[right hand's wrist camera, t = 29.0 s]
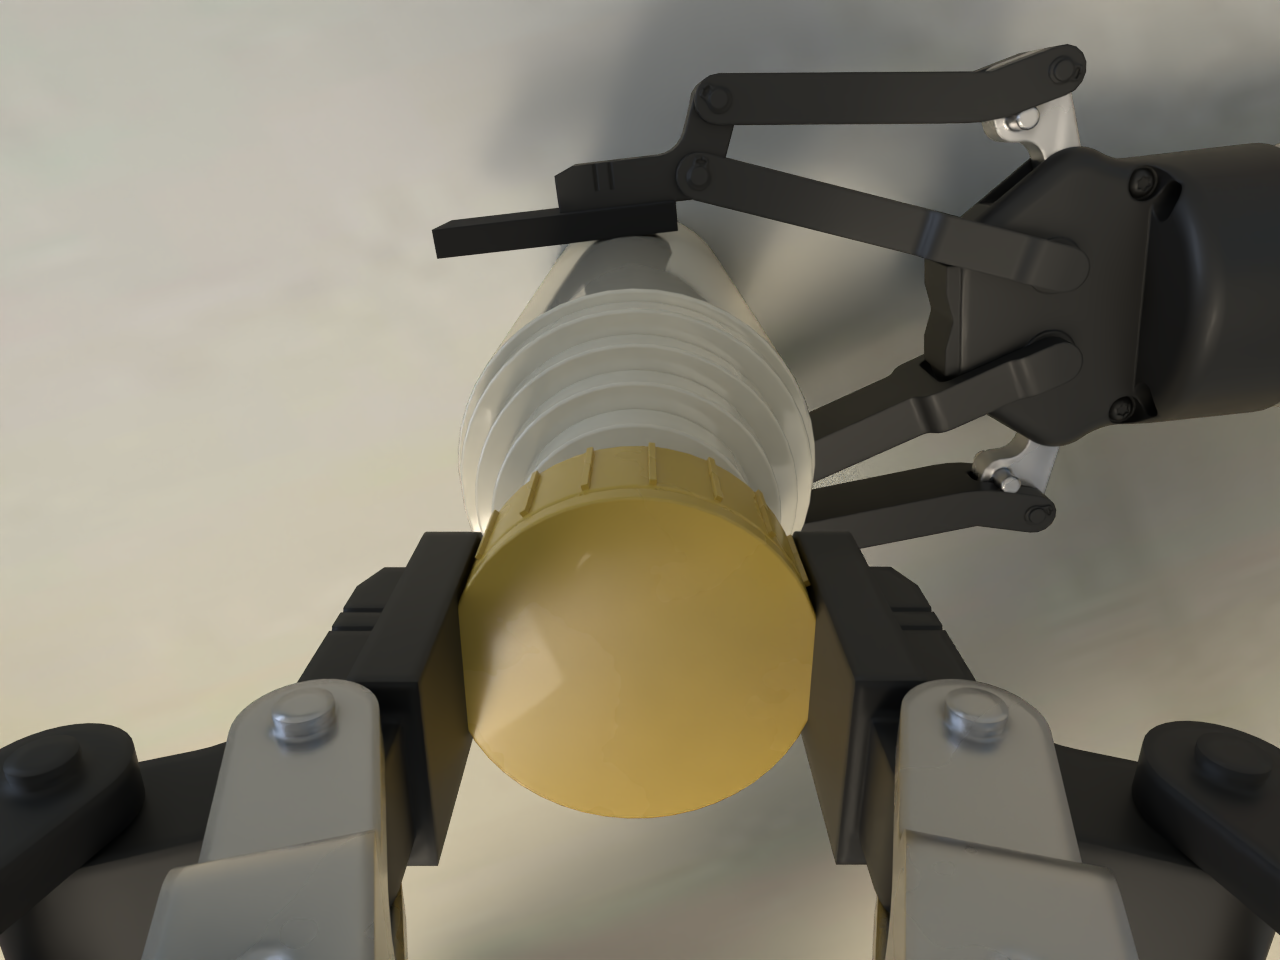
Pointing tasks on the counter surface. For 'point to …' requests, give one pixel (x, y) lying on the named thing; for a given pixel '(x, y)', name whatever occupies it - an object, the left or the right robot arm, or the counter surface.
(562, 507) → the cap
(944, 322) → the left robot arm
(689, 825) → the counter surface
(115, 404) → the counter surface
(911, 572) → the counter surface
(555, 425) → the bottle
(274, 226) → the counter surface
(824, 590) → the right robot arm
